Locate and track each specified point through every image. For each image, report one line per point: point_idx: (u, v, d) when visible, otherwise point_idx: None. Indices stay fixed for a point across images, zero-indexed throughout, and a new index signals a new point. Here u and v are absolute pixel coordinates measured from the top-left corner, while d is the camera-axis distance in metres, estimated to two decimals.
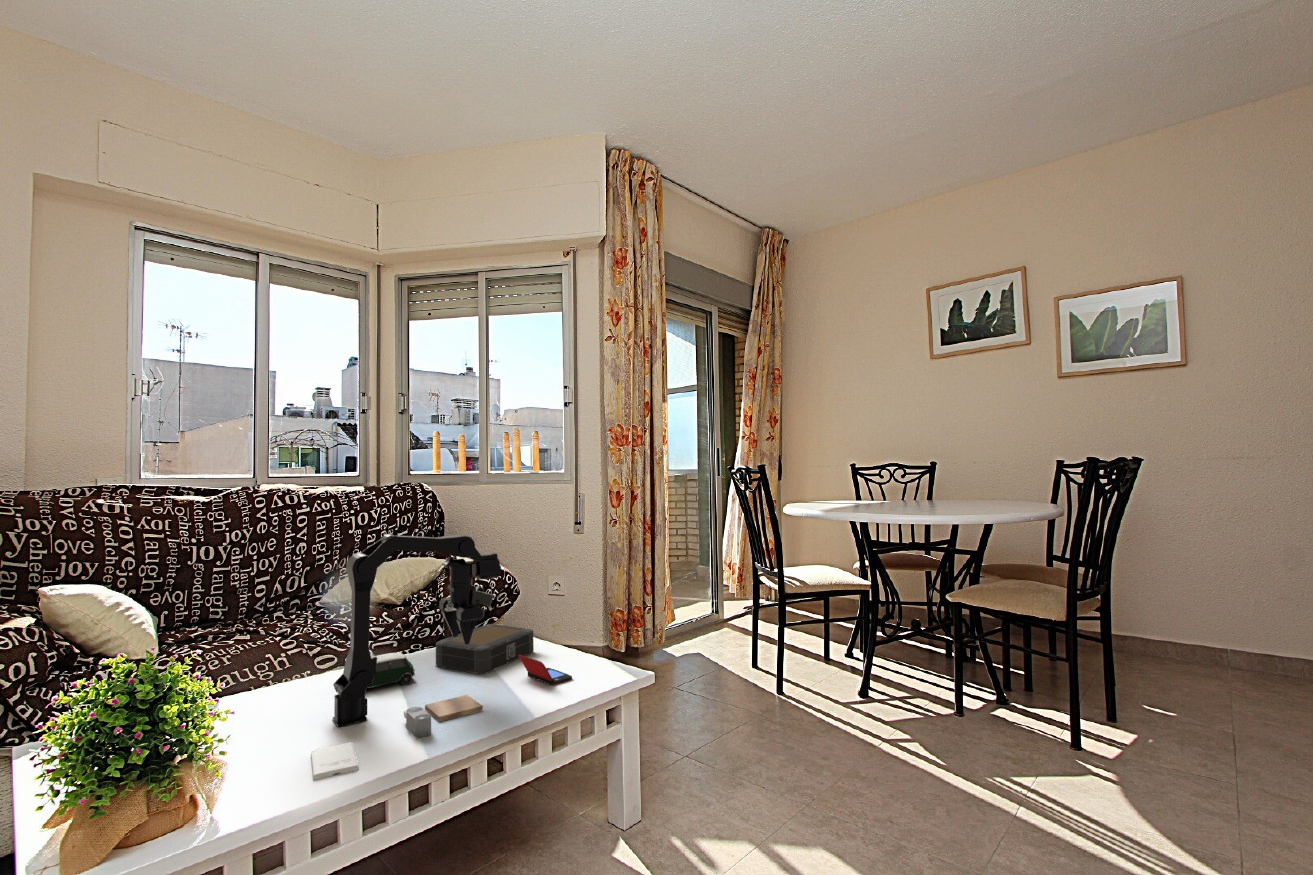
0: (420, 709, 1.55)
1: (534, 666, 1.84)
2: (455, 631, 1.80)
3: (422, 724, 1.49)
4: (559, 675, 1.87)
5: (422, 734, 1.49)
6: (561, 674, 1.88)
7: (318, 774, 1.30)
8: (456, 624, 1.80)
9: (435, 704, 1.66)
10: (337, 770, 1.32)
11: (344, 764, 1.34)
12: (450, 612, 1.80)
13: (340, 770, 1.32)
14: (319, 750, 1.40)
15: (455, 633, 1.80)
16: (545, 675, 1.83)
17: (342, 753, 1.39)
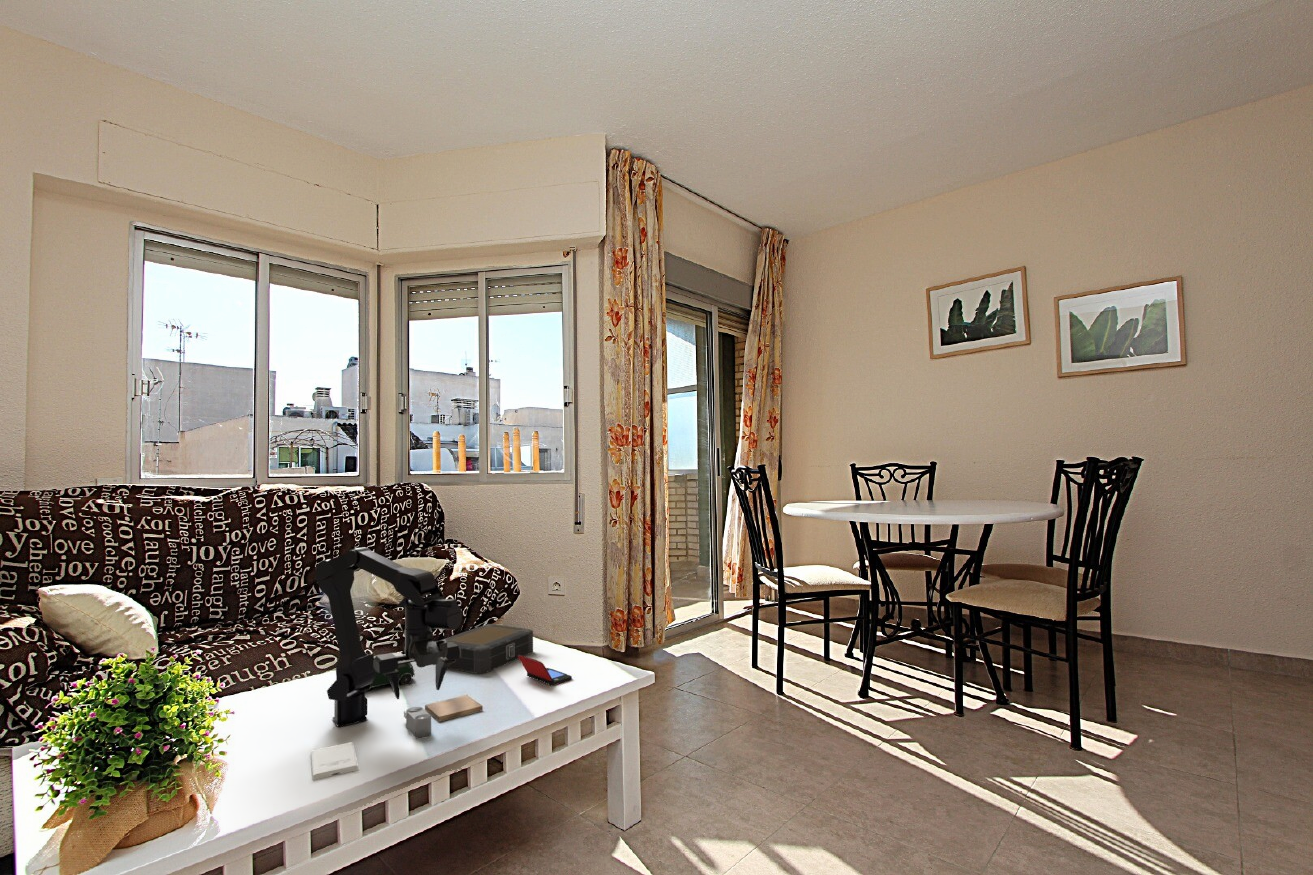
0: (420, 709, 1.55)
1: (534, 666, 1.84)
2: (436, 682, 1.56)
3: (422, 724, 1.49)
4: (558, 675, 1.87)
5: (422, 734, 1.49)
6: (560, 674, 1.88)
7: (317, 774, 1.30)
8: (438, 676, 1.56)
9: (435, 704, 1.66)
10: (337, 770, 1.32)
11: (343, 764, 1.34)
12: None
13: (339, 770, 1.32)
14: (319, 750, 1.40)
15: (436, 685, 1.56)
16: (544, 675, 1.83)
17: (341, 753, 1.39)
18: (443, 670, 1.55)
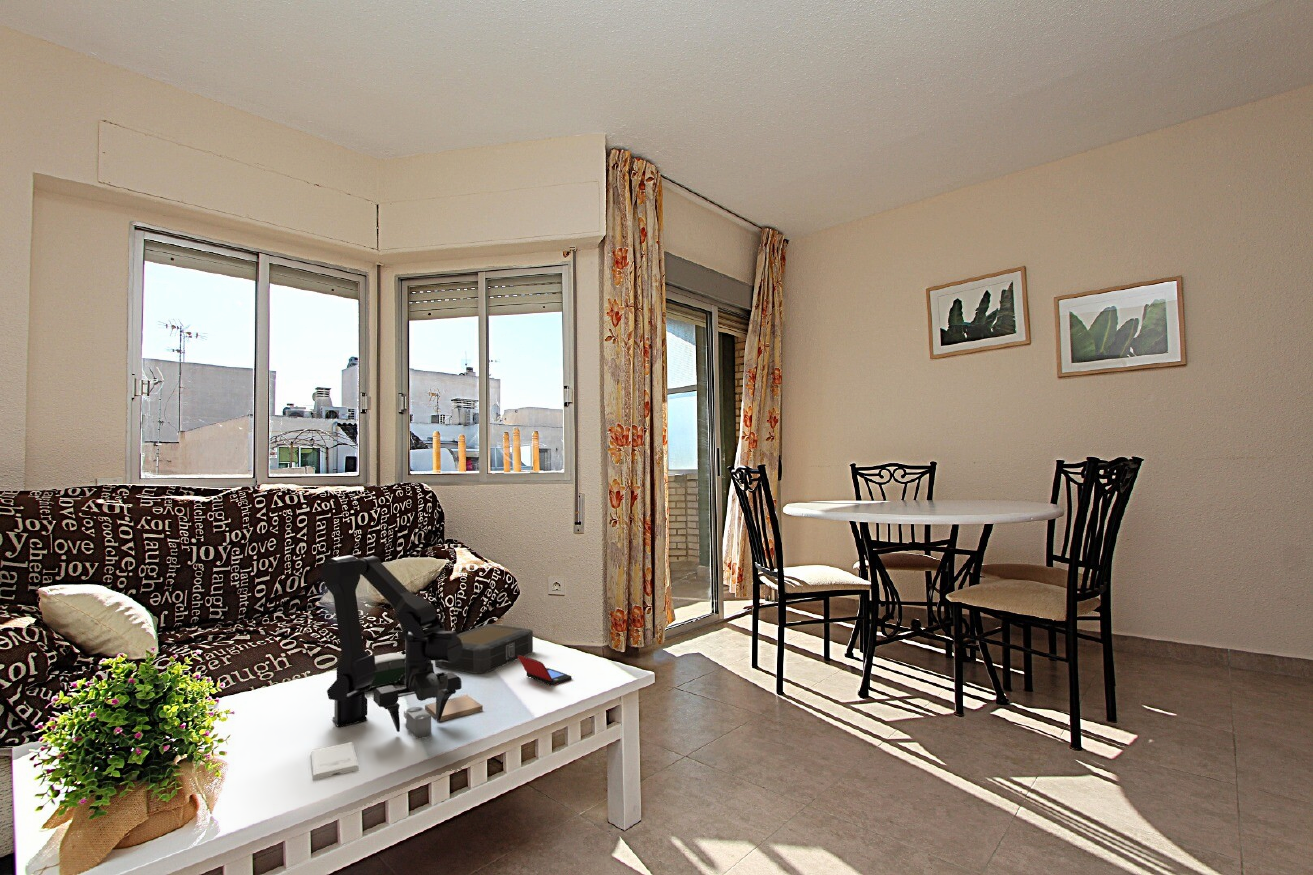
0: (420, 709, 1.55)
1: (534, 666, 1.84)
2: (437, 714, 1.56)
3: (422, 724, 1.49)
4: (558, 675, 1.87)
5: (422, 734, 1.49)
6: (560, 674, 1.88)
7: (317, 774, 1.30)
8: (438, 707, 1.55)
9: (435, 704, 1.66)
10: (337, 770, 1.32)
11: (343, 764, 1.34)
12: (438, 690, 1.57)
13: (340, 770, 1.32)
14: (319, 750, 1.40)
15: (437, 717, 1.56)
16: (544, 675, 1.83)
17: (341, 753, 1.39)
18: (443, 702, 1.55)
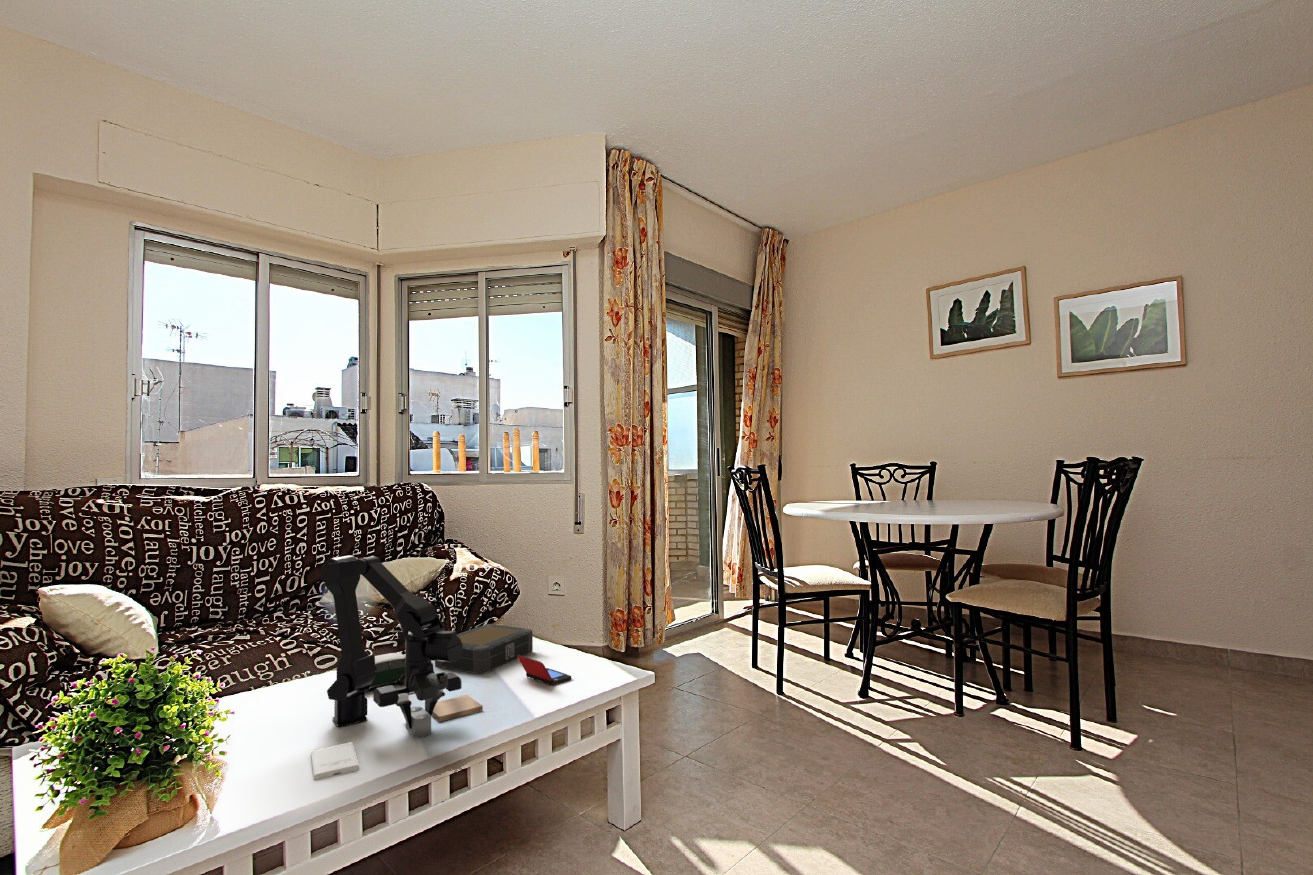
0: (420, 709, 1.55)
1: (533, 666, 1.84)
2: None
3: (422, 724, 1.49)
4: (558, 675, 1.87)
5: (422, 734, 1.49)
6: (560, 674, 1.88)
7: (318, 774, 1.30)
8: (427, 710, 1.54)
9: None
10: (338, 769, 1.32)
11: (344, 764, 1.34)
12: None
13: (340, 770, 1.32)
14: (319, 750, 1.40)
15: None
16: (544, 675, 1.83)
17: (342, 753, 1.39)
18: (432, 704, 1.54)
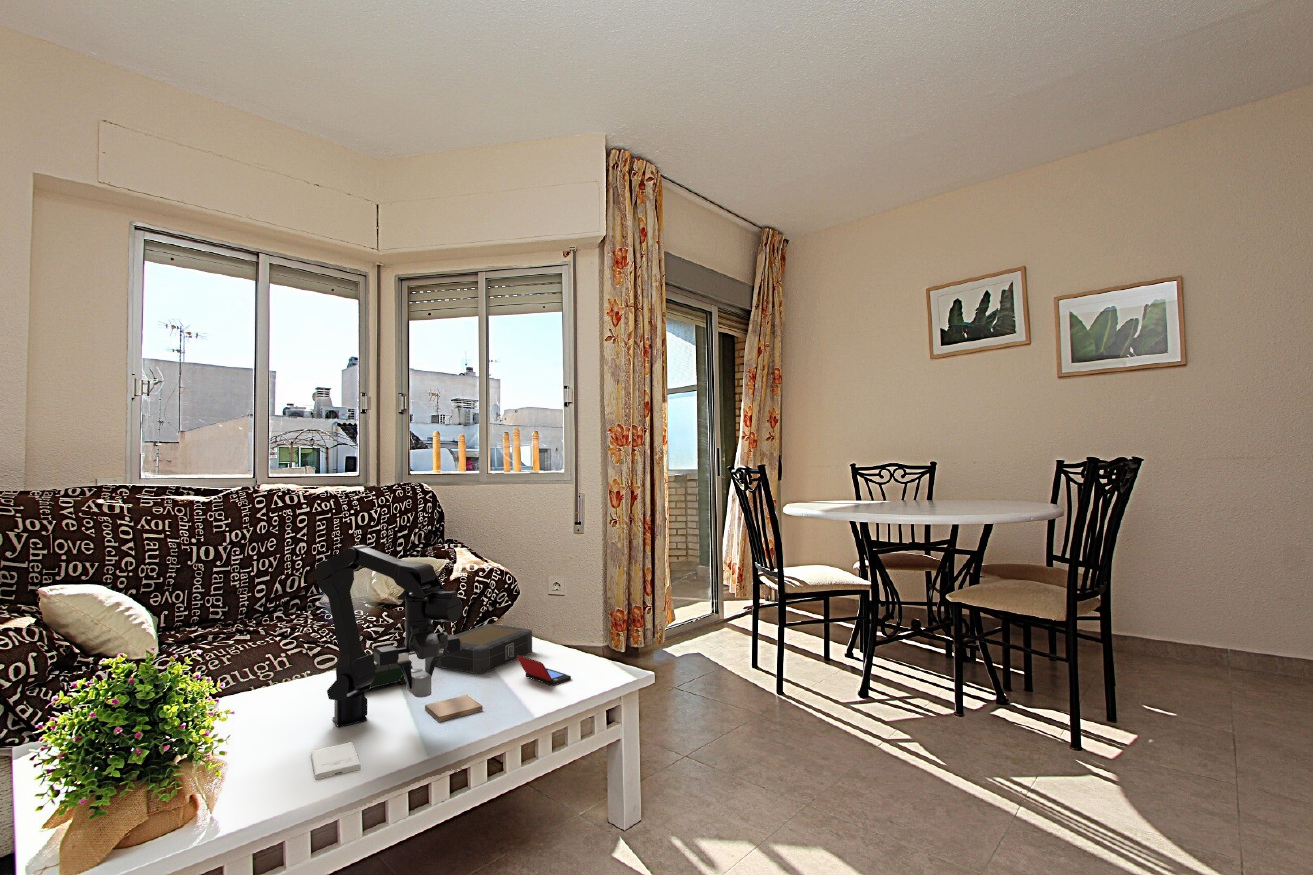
0: (420, 670, 1.55)
1: (533, 666, 1.84)
2: None
3: (422, 683, 1.49)
4: (558, 675, 1.87)
5: (422, 693, 1.49)
6: (560, 674, 1.88)
7: (320, 773, 1.30)
8: (427, 670, 1.54)
9: (435, 704, 1.66)
10: (339, 769, 1.32)
11: (345, 764, 1.34)
12: None
13: (342, 769, 1.32)
14: (319, 750, 1.40)
15: None
16: (544, 676, 1.82)
17: (342, 753, 1.39)
18: (432, 665, 1.54)
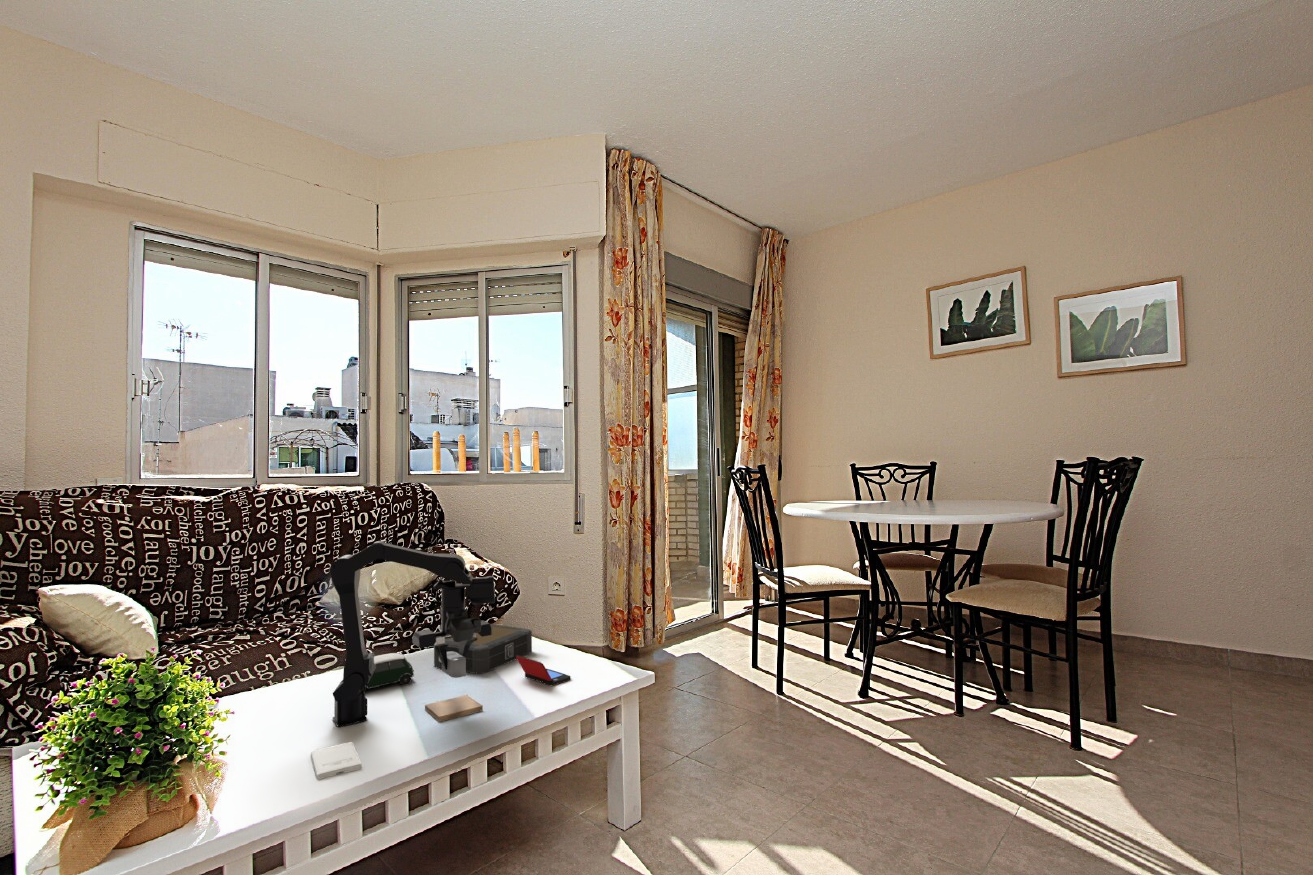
0: (454, 653, 1.67)
1: (533, 667, 1.83)
2: None
3: (458, 664, 1.61)
4: (557, 675, 1.87)
5: (458, 674, 1.61)
6: (559, 674, 1.88)
7: (321, 773, 1.30)
8: (461, 653, 1.66)
9: (435, 704, 1.66)
10: (341, 769, 1.32)
11: (347, 763, 1.34)
12: None
13: (343, 769, 1.33)
14: (320, 750, 1.40)
15: None
16: (544, 676, 1.82)
17: (343, 753, 1.39)
18: (466, 648, 1.66)
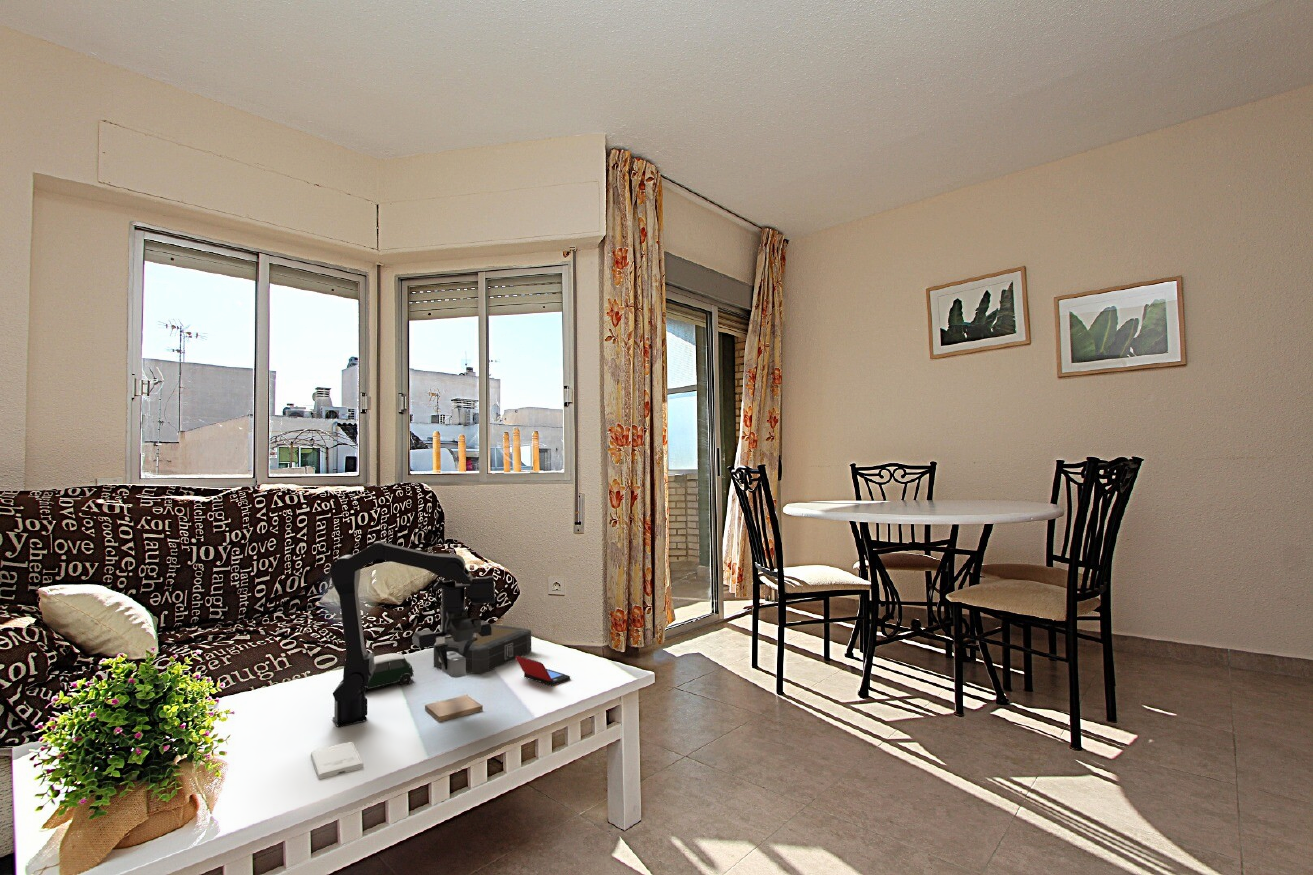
0: (454, 653, 1.67)
1: (533, 667, 1.83)
2: None
3: (458, 664, 1.61)
4: (557, 675, 1.87)
5: (458, 674, 1.61)
6: (559, 674, 1.88)
7: (323, 773, 1.30)
8: (461, 653, 1.66)
9: (435, 704, 1.66)
10: (342, 768, 1.32)
11: (348, 763, 1.34)
12: None
13: (345, 768, 1.33)
14: (320, 750, 1.40)
15: None
16: (544, 676, 1.82)
17: (343, 752, 1.39)
18: (466, 648, 1.66)
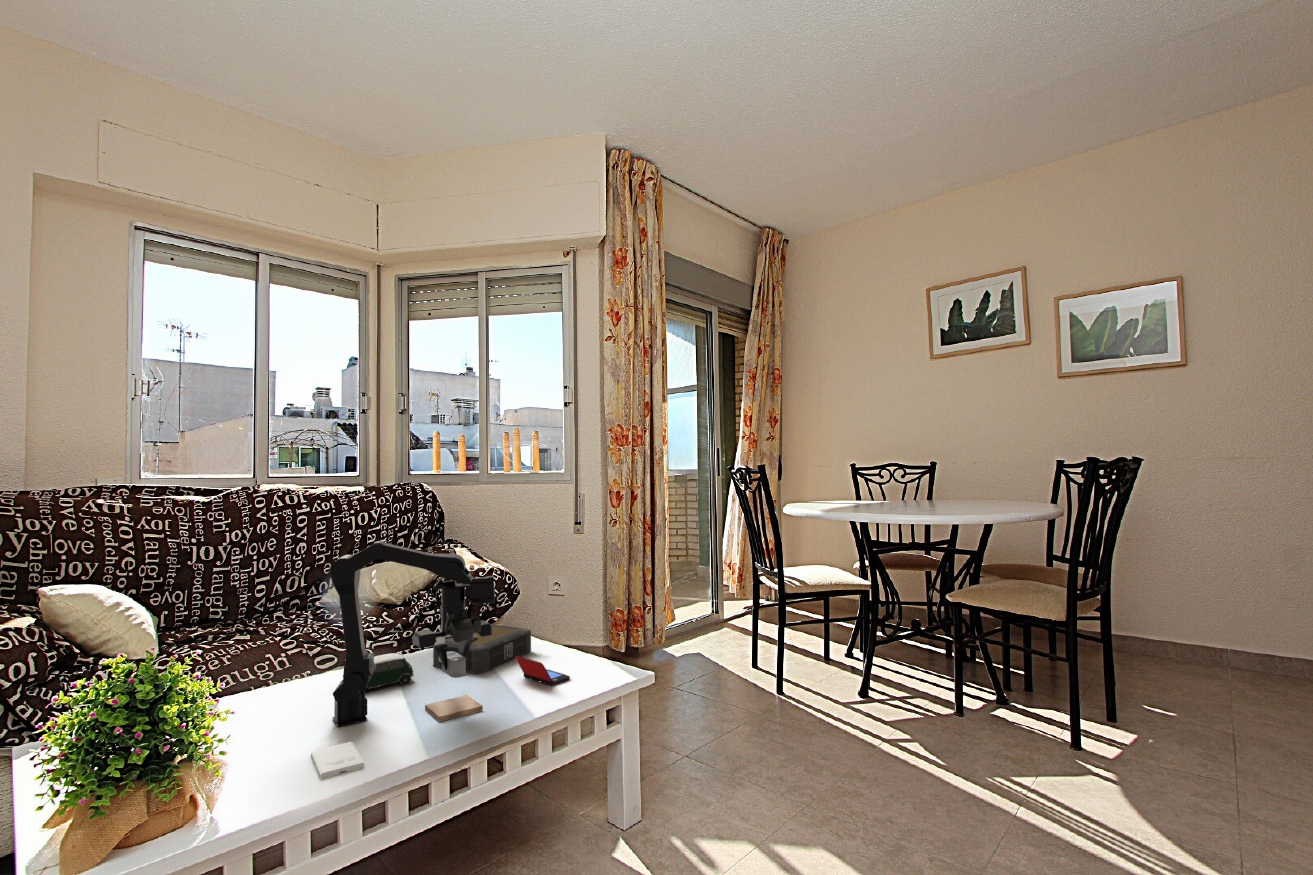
0: (454, 653, 1.67)
1: (532, 667, 1.83)
2: None
3: (458, 664, 1.61)
4: (556, 676, 1.87)
5: (458, 674, 1.61)
6: (558, 674, 1.88)
7: (324, 772, 1.31)
8: (461, 653, 1.66)
9: (435, 704, 1.66)
10: (343, 768, 1.33)
11: (349, 762, 1.35)
12: None
13: (346, 768, 1.33)
14: (320, 750, 1.40)
15: None
16: (543, 676, 1.82)
17: (344, 752, 1.39)
18: (466, 648, 1.66)
